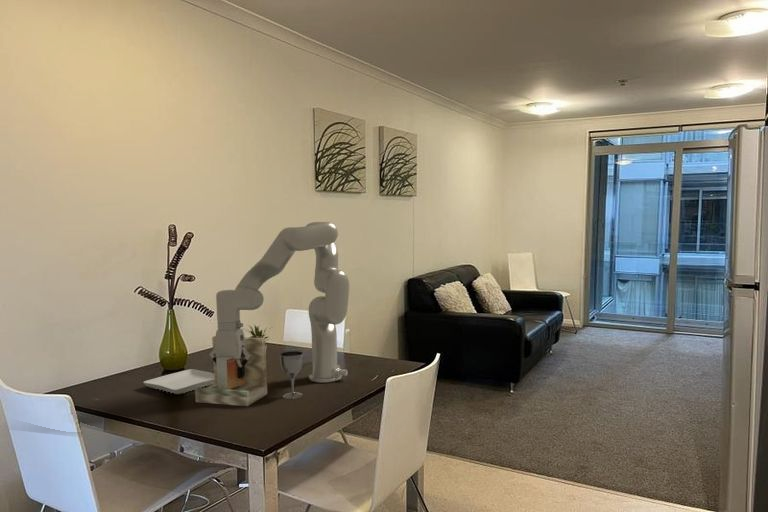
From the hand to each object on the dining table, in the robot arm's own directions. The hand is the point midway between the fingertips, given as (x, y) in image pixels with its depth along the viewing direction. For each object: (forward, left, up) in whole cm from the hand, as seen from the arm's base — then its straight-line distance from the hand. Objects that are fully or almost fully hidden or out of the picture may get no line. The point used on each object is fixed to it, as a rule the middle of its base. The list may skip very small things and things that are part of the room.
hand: (231, 376), depth 191 cm
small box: (0, 0, -4) cm, 4 cm away
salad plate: (+26, -8, -8) cm, 29 cm away
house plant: (+19, -49, -8) cm, 54 cm away
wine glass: (-20, -6, -8) cm, 22 cm away
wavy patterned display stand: (0, +1, -8) cm, 8 cm away
